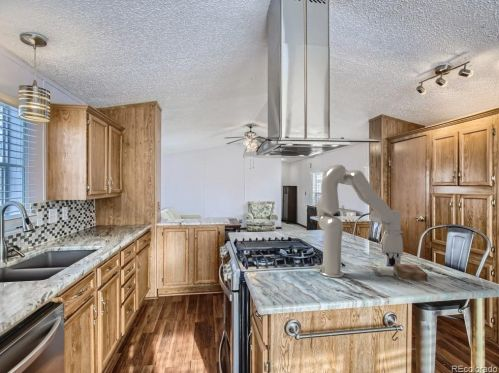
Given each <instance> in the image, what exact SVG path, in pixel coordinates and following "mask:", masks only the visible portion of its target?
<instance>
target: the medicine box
mask: <svg viewBox="0 0 499 373" xmlns="http://www.w3.org/2000/svg"><path fill="white" fill-rule="evenodd" d="M391 257H393V253H391ZM401 258H402V257H401V256H398V257H397V258H396V259H395V263H396V264H401ZM384 266H388V267H390V268H391V267H392V268H393V267H394V266H391V265H390V264H389V257H388V256H387V255H384Z"/></svg>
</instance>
